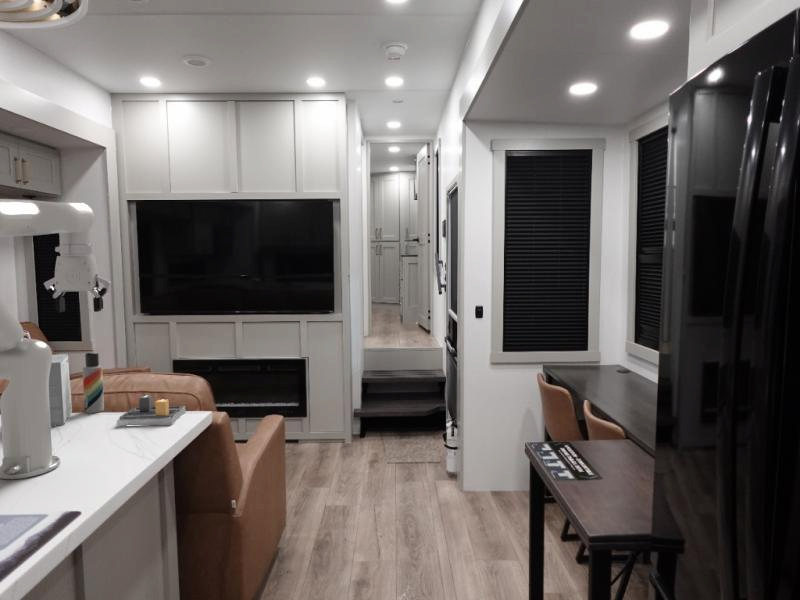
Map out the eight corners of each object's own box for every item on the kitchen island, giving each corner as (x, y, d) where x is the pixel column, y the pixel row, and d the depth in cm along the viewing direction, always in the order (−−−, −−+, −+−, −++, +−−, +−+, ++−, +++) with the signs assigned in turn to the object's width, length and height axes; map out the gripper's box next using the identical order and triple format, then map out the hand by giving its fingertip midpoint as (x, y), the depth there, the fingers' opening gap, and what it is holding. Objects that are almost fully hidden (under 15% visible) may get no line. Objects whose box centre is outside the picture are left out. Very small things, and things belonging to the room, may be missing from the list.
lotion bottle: (80, 412, 173) (77, 353, 171) (95, 408, 178) (92, 350, 177) (93, 414, 171) (91, 354, 170) (108, 409, 176) (105, 351, 175)
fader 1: (149, 411, 166) (148, 397, 166) (139, 411, 166) (139, 397, 166) (152, 409, 169) (152, 394, 169) (143, 409, 169) (142, 395, 169)
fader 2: (165, 416, 161) (165, 401, 161) (155, 416, 161) (155, 401, 160) (169, 413, 164) (168, 398, 164) (159, 413, 164) (158, 399, 163)
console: (171, 424, 159) (171, 416, 159) (117, 427, 157) (116, 418, 157) (185, 412, 173) (185, 404, 173) (135, 413, 171) (135, 406, 171)
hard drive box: (44, 415, 170) (41, 355, 169) (72, 412, 173) (69, 353, 172) (34, 428, 156) (31, 363, 155) (64, 425, 159) (61, 361, 158)
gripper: (35, 251, 141) (39, 313, 142) (103, 250, 143) (106, 312, 144) (50, 251, 148) (53, 310, 150) (114, 251, 150) (117, 309, 152)
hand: (79, 311), depth 147 cm, fingers open, 9 cm apart
